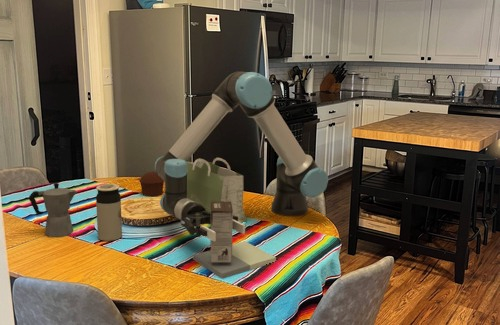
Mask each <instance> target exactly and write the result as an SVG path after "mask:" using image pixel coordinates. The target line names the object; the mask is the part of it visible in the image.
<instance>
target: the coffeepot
mask: <svg viewBox="0 0 500 325" xmlns="http://www.w3.org/2000/svg"><path fill="white" fill-rule="evenodd" d="M53 186H54V188H49V189H48V188H47V189H45V190H34V191H32V193H31V194H30V195H29V197H28V200H29V202H30V204H31V206H32V208H33V209H34V212H35V214H36V215H43V213H44V211H40V209H39V206H38V204H37V200H36V197H37V198H38V197H39V198H43V203H44V207H45V211H46V212H47V216H46V223H45V230H44V234H45V235H46V236H47V237H50V238H63V237H64V238H65V237H66V236H67V237H68V236H70V235H71V234H72V233H73V232H74V227H73V223H72V220H71V215H70V214H69V210H70V208H71V202H72V200H73V198H74V197H75V195H76V194H77V193H78V191H77V190H74V189H69V188H67V187H65V188H63V187H59V186H60V184H59V183H58V182H55V183H53Z"/></svg>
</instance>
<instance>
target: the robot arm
mask: <svg viewBox="0 0 500 325" xmlns="http://www.w3.org/2000/svg"><path fill="white" fill-rule="evenodd" d="M275 101H276V98H275V96H274V95H273V87H272V84H271V82H270V80H269V79H268V78H267V77H266V76H264V75H262V74H261V73H258V72H255V71H249V72H247V71H241V70H240V71H239V70H238V71H235V72H233V73H231V74H229V75H228V76H227V77H225V79H223V81H222V82H221V83H220V84H219V86H218V87H217V88H216V89H215V90H214V91H213V93H212V94H211V99H210V100H209V102H208V103H207V105H206V106H205V107H204V108H203V109H202V110H201V112H200V113H198V115H197V116H196V117H195V119H194V120H193V121H192V122H191V123H190V125H189V126H188V127H187V129H185V131H184V132H183V133H182V134H181V135H180V137H179V138H178V139H177V140H176V142H174V144H173V145H172V147H170V148H169V150H168V151H167V152H166V153H165V154H164V155H163V156H160V157H158V158H156V161H155V163H154V170H155V172H157V174H158V176H159V177H161V178H162V179H163V180H164V193H162V195H161V198H160V200H159V205H160V207H161V209H162V210H163V211H164V212H166V214H167V215H170V216H173V217H174V218H176V219H178V220H179V221H180V225H181V226H182V227H184V228H185V229H186V231H187V232H188V234H189V235H191V236H194V235H195V234H196V237H197V238H200V237H205V238H207V239H208V240H212V241H213V242H214V241H216V232H215V231H213V230H211V229H210V228H209V227H207V226H206V225H207V224H208V225H210V223H211V212H208V211H206V210H205V208H204V207H203V206H202V205H200V204H198V203H196V202H194V201H192V200H190V199H188V198H187V172H188V170H187V163H186V162H188V161H189V159H190V158H191V157H192V156H193V154H195V152H196V151H197V150H198V148H199V147H200V146H201V145H202V144H203V142H205V140H206V139H207V138H208V137H209V135H210V134H211V133H212V132H213V131H214V129H215V128H216V127H217V126H218V125H219V124H220V123H221V121H222V120H223V118H224V117H225V116H226V115H227V114H228V113H232V112H234V110H235V109H236V108H237V107H238V106H240V108H241V109H242V111H243V112H244V114H245V115H246V116H247V118H250V119H253V120H254V121H255V122H256V124H257V126H258V127H259V129H260V131H262V133H263V135H265V137H266V139H267V141H268V142H269V144H270V145H271V147H272V148H273V149H274V152H276V154H277V156H278V158H277V159H276V160H277V162H276V182H275V183H276V187H275V188H276V189H275V194H274V197H273V200H272V202H271V211H272V213H275V214H276V215H281V216H289V217H291V216H292V217H293V216H294V217H296V216H303V215H305V214H307V213H308V212H309V204H308V202H307V201H308V200H307V197H308V198H317V197H319V196H321V195H322V194H323V193H324V192H325V191H326V190H327V186H328V183H329V176H328V174H327V172H326V171H325V170H324V169H323V168H322V167H319V166H318V164H317V163H316V161H315V160H314V159H313V157H312V156H311V155H310V154H306V153H305V152H304V150H303V148H302V147H301V145H300V144H299V142H298V140H297V139H296V137H295V136H294V134H293V133H292V131H291V130H290V127H289V126H288V125H287V123H286V121H285V120H284V119H283V118H284V117H282V115H281V114H280V112H279V111H278V109H277V107H276V106H275ZM232 230H234V231H236V232H238V233H240V234H242V235H245V234H246V225H245V224H242V223H240V222H238V217H237V216H234V215H233V229H232Z"/></svg>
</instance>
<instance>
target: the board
mask: <svg viewBox="0 0 500 325" xmlns="http://www.w3.org/2000/svg"><path fill="white" fill-rule="evenodd" d="M192 255H193V256H192V260H193V261H195V262H196V263H198V264H200V265H201V266H202V267H204V268H205V269H207V270H208V271H210V272H211V273H213V274H214V275H216V276H218V277H219V278H221V279H225V278H228V277H232V276H235V275H238V274H241V273H245V272H248V271H250V270H254V269H257V268H261V267H264V266H267V265H270V264H269V263H271V264H273V263H272V262H274V263H276V262H277V257H276V256H275V255H272V254H270V253H268V252H266V251H264V250H262V249H261V248H259V247H257V246H255V245H254V244H251V243H249V242H247V241H245V240H244V241H240V242H237V243H232V262H211V249H210V250H207V251H203V252H198V253H196V254H195V253H194V254H192ZM275 261H276V262H275ZM266 264H267V265H266Z"/></svg>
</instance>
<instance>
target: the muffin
mask: <svg viewBox="0 0 500 325" xmlns="http://www.w3.org/2000/svg"><path fill="white" fill-rule="evenodd" d="M138 181H139V183H140V187H141V188H140V189H141V192H142V196H145V197H146V198H147V197H151V198H152V197H153V198H154V197H155V198H156V197H159V196H162V195H163V190H164V185H165V181H164V180H163V179H162V178H161V177H159V176H158V174H157V172H156V171H148V172H145V173H144V174H143V175H142V176H141V177H140V179H139V180H138Z"/></svg>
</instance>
